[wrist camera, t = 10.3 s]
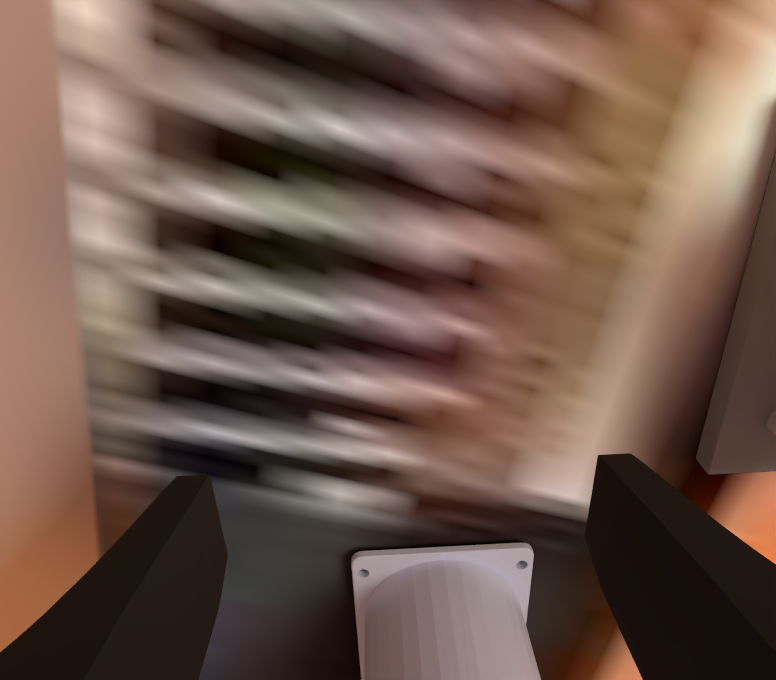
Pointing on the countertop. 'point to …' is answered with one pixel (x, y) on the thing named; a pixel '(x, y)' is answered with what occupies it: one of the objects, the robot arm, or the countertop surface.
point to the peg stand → (748, 364)
